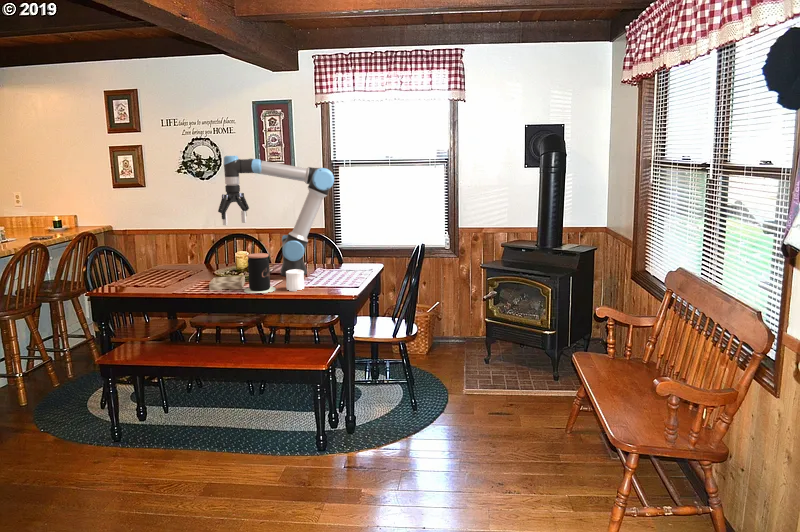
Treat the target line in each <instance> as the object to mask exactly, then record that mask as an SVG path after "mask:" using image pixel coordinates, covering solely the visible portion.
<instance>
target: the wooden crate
mask: <svg viewBox="0 0 800 532" xmlns="http://www.w3.org/2000/svg"><path fill="white" fill-rule="evenodd" d="M245 284H246V278H245V276H221V277H220V276H217V277H213V278H212V279H211V280H210V282H209V283H208V287H209V291H221V290H222V289H229V290H242V289H243V288H242V287H244V285H245ZM222 291H223V290H222Z"/></svg>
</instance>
